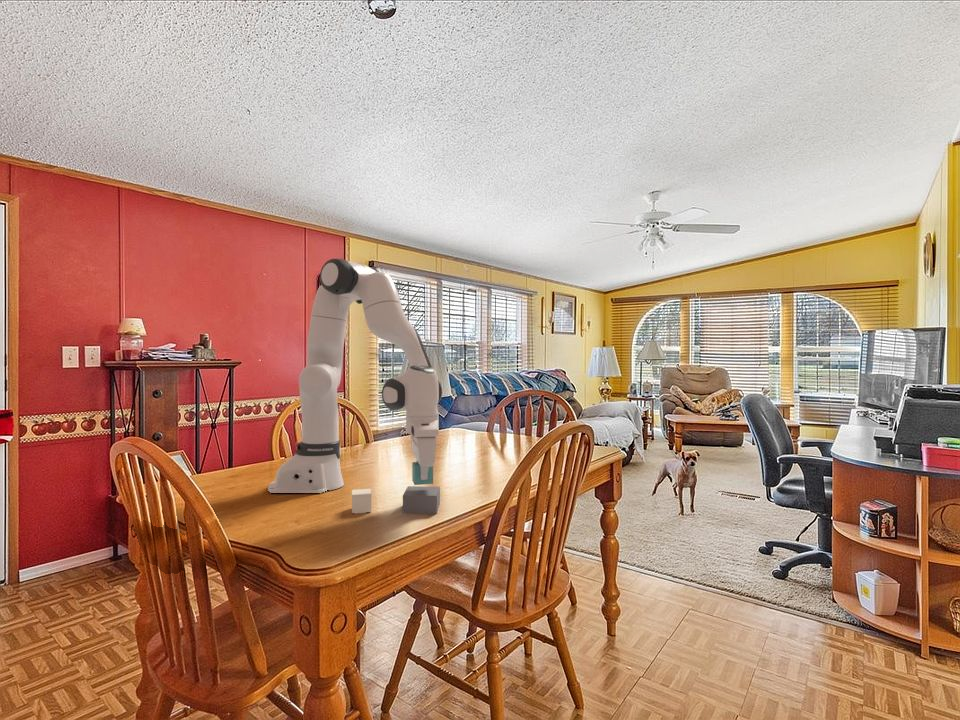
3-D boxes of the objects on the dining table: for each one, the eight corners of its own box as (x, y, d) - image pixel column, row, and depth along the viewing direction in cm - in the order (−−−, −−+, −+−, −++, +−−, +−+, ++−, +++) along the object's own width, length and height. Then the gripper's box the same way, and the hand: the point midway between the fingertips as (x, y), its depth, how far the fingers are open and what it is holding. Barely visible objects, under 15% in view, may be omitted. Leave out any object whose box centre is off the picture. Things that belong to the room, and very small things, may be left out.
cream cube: (351, 513, 140) (351, 494, 140) (352, 507, 145) (352, 489, 145) (371, 512, 141) (371, 493, 141) (370, 506, 146) (370, 488, 146)
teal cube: (414, 484, 142) (414, 466, 142) (412, 480, 147) (412, 462, 147) (433, 483, 143) (433, 465, 143) (430, 479, 148) (430, 461, 148)
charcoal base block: (402, 514, 141) (402, 495, 140) (407, 504, 150) (407, 486, 149) (436, 514, 140) (436, 495, 140) (439, 504, 149) (439, 486, 149)
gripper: (406, 420, 154) (406, 468, 154) (415, 431, 134) (415, 486, 134) (428, 420, 155) (428, 467, 156) (440, 431, 135) (439, 485, 136)
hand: (422, 476), depth 145 cm, fingers closed on teal cube, 5 cm apart
